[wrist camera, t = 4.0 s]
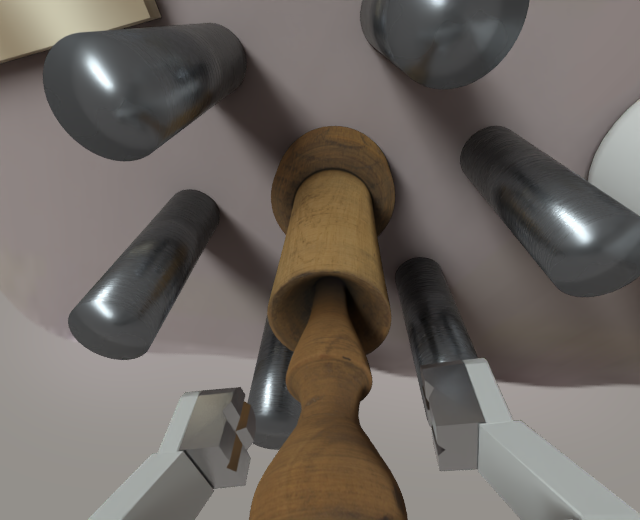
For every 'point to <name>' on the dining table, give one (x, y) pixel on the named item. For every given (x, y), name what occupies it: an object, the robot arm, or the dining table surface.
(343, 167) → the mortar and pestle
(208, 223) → the capsules
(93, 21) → the birch board
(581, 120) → the dining table surface
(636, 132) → the wine bottle
